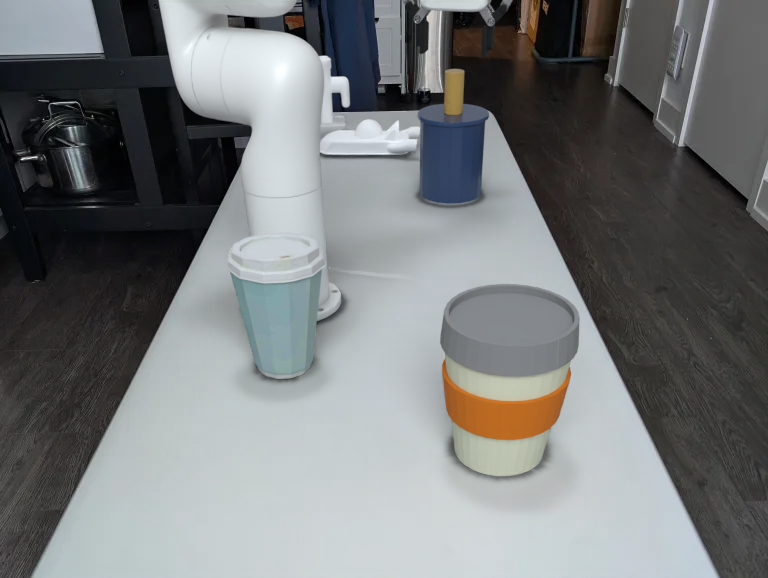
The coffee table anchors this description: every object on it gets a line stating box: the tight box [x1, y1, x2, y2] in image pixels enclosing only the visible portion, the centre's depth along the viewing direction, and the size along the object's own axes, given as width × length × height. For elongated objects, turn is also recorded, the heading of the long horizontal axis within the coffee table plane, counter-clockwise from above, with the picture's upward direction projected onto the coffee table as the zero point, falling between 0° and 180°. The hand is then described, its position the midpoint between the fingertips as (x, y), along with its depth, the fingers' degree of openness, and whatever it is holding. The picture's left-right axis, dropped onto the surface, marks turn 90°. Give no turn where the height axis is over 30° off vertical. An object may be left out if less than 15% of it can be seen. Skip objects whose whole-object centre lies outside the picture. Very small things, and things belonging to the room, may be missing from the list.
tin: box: [419, 120, 486, 205], centre depth 132 cm, size 10×10×12 cm
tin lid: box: [417, 68, 490, 127], centre depth 126 cm, size 11×11×7 cm
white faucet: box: [318, 55, 351, 142], centre depth 156 cm, size 7×9×15 cm
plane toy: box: [320, 118, 420, 156], centre depth 154 cm, size 10×20×6 cm, turn 84°
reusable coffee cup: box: [439, 283, 580, 477], centre depth 76 cm, size 13×12×15 cm
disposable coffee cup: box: [226, 232, 325, 380], centre depth 89 cm, size 11×11×15 cm
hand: (454, 53), depth 122 cm, fingers open, 9 cm apart
